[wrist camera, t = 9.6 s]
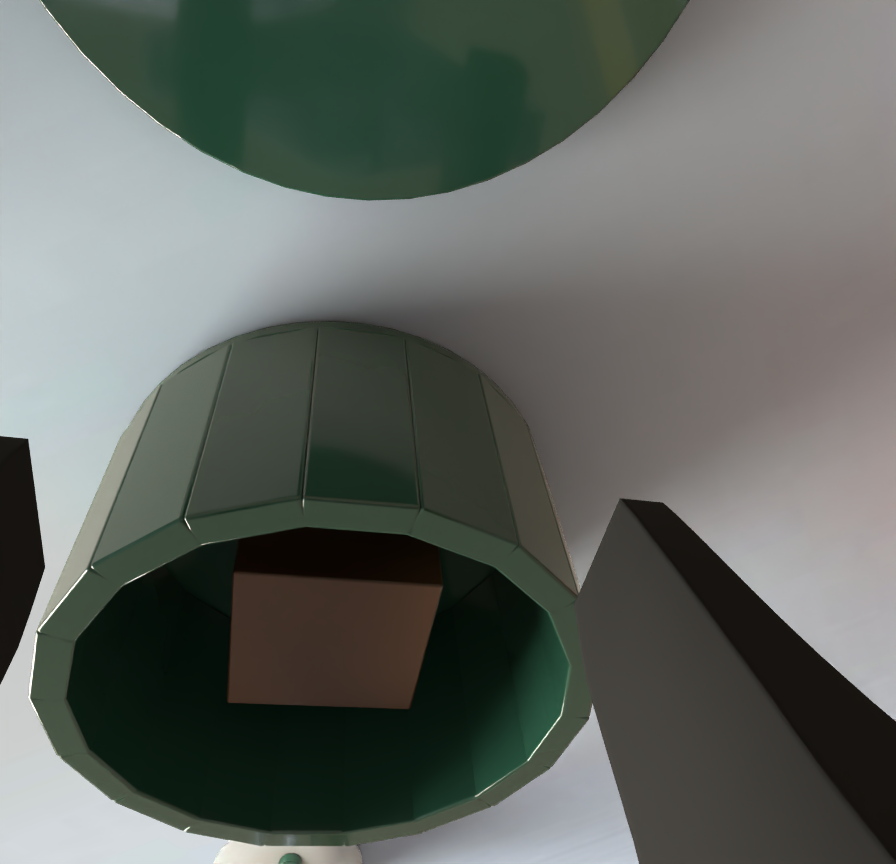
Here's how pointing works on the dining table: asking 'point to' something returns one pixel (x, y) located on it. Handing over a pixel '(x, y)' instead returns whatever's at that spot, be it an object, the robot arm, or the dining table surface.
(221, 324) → the dining table surface
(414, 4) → the lid
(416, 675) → the block
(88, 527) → the pot
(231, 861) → the beer glass
